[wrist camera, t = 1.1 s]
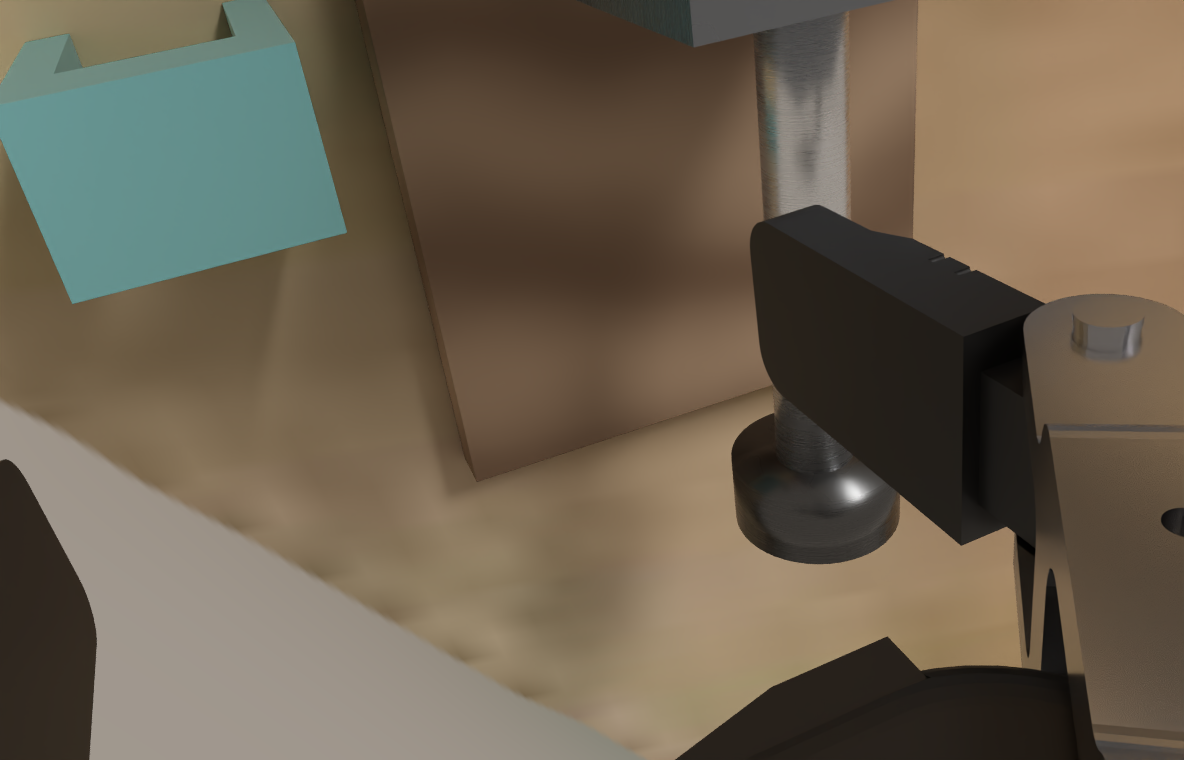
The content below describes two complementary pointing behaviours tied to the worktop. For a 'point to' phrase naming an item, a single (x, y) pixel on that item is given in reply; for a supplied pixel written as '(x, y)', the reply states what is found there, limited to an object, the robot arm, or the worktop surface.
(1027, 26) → the worktop surface
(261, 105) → the block
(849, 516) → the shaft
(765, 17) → the housing
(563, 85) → the base board
